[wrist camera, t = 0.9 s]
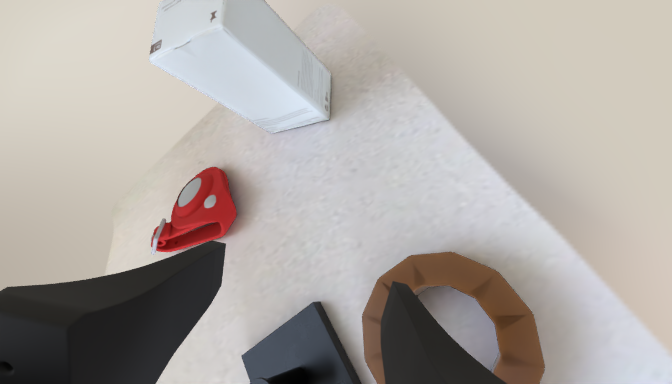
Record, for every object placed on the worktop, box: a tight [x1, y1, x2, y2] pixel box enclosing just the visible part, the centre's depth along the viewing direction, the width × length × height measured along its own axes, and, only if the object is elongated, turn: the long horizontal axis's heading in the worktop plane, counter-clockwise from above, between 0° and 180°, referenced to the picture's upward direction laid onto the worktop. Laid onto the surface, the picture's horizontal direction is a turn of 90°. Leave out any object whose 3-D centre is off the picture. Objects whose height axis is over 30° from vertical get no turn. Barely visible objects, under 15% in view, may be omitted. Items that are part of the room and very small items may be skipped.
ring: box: [362, 252, 545, 384], centre depth 22 cm, size 11×11×3 cm
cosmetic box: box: [149, 0, 331, 133], centre depth 29 cm, size 8×6×15 cm
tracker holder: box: [151, 167, 237, 255], centre depth 36 cm, size 12×4×10 cm
